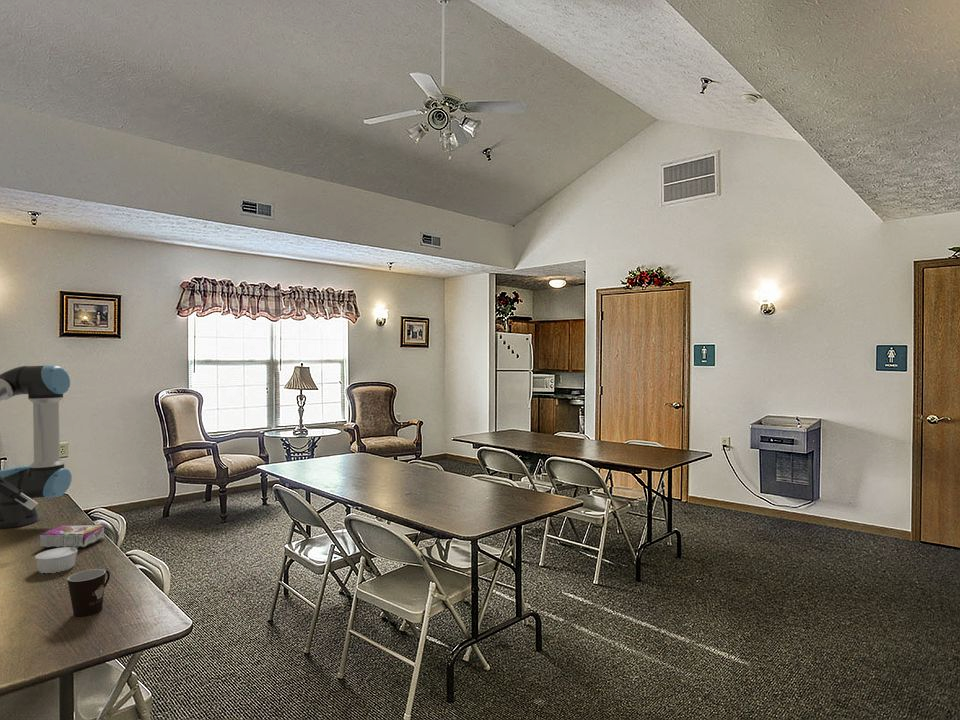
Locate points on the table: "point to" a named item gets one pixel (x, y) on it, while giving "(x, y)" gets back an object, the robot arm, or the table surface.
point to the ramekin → (56, 560)
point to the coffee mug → (87, 591)
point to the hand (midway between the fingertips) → (34, 506)
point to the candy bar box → (72, 536)
